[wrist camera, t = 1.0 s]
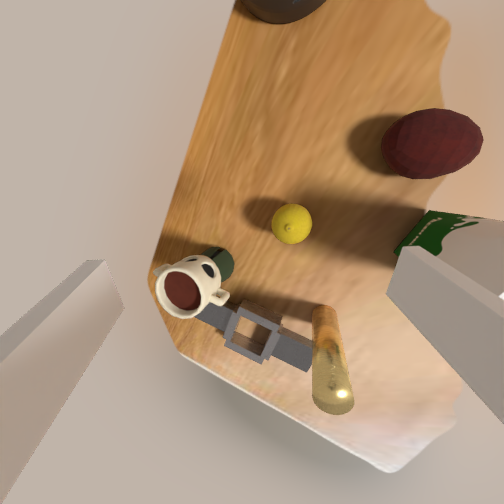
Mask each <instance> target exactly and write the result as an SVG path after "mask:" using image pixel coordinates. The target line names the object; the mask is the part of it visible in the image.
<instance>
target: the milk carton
mask: <svg viewBox="0 0 504 504" xmlns="http://www.w3.org/2000/svg"><path fill="white" fill-rule="evenodd" d="M405 246H420V247H422V248H423V249H425V250H426V251H428V252H429V253H431V254H433V255H434V256H436V257H437V258H439V259H440V260H442V261H443V262H445V263H447V264H448V265H450V266H451V267H453V268H454V269H456V270H458V271H459V272H461V273H462V274H464V275H465V276H467V277H468V278H470V279H472V280H473V281H475V282H476V283H478V284H479V285H481V286H483V287H484V288H486V289H487V290H489V291H490V292H492V293H493V294H495V295H497V296H498V297H500V298H501V299H503V300H504V221H500V220H493V219H487V218H480V217H472V216H466V215H460V214H452V213H445V212H437V211H431V210H429V211H428V212H427V213H426V214H425V216H424V217H423V218H422V219H421V220H420V222H419V223H418V224H417V225H416V226H415V227H414V229H413V230H412V231H411V232H410V233H409V234H408V236H407V237H406V238H405V239H404V240H403V242H402V243H401V244H400V245H399V246H398V247H397V249H396V250H395V251H394V253H395V254H396V255H397V256H398V257H399V256H400V253H401V250H402V247H405Z"/></svg>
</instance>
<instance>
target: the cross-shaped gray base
mask: <svg viewBox="0 0 504 504" xmlns="http://www.w3.org/2000/svg"><path fill="white" fill-rule="evenodd" d="M216 297H218V296H216ZM218 298H220V297H218ZM241 316H243V317H245V318H247V319H249V320H251V321H253V322H255V323H257V324H259V325H262V326H264V327H266V328H268V329H270V330H271V331H270V333H269V335H268V338H267V340H266V342H265V344H264V345H262V344H260V343H258V342H256V341H254V340H252V339H249V338H247V337H245V336H243V335H241V334H239V333H237V332H235V331H236V329H237V326H238V324H239V321H240V319H241ZM194 317H195V318H197V319H199V320H201V321H203V322H206V323H208V324H210V325H212V326H214V327H216V328H218V329H220V330H222V331H224V332H225V333H224V336H223V338H224V339H226V342H225V345H224V346H226V347H228V348H230V349H232V350H234V351H236V352H237V353H239V354H241V355H243V356H245V357H247V358H249V359H251V360H253V361H255V362H257V363H259V364H262V362H263V360H264V359H266V360H269V358H270V356H271V355H272V356H274V357H276V358H278V359H280V360H282V361H284V362H286V363H288V364H290V365H292V366H294V367H297V368H299V369H301V370H303V371H305V372H307V371H308V370H309V368H310V366H311V365H312V341H311V340H309V339H307V338H305V337H303V336H301V335H298V334H296V333H294V332H292V331H290V330H288V329H286V328H284V327H283V324H281V320H282V316H281V315H278V314H276V313H274V312H272V311H270V310H268V309H266V308H263V307H261V306H259V305H257V304H255V303H253V302H251V301H248V300H246V299H244V300H243V301H242V303H241V305H240V304H237V305H235V304H233V303H231V302H229V301H226V302H225V303H224V304H223V305H222V306H217V305H215V304H213V303H211V302H209V303H208V305H207V306H206V307H205V308H204V309H203V310H202V311H201V312H200V313H199V314H197V315H195V316H194Z"/></svg>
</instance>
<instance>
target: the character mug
mask: <svg viewBox="0 0 504 504" xmlns="http://www.w3.org/2000/svg"><path fill="white" fill-rule="evenodd" d="M219 248H220V247H211V248H209V249H208V250H206V251H205V252H203V253H202V254H201V255H193V256H188V257H186V258H184V259H182V260H181V261H179V262H177V263H174V264H173V265H170V264H164V265H162V266H160V267H158V268H156V269H155V270H154V271H153V273H154V275H156V276H157V277H158V278H157V280H156V282H155V293H156V296H157V299H158V302H159V303H160V304H161V306H162V307H163V309H164V310H165V311H167V312H168V313H169V314H171V315H172V316H174V317H178V318H181V319H186V318H192V317H194V316H195V315H197V314H199V313H200V312H201V311H202V310H203V309H204V308H205V307H206V306H207V305H208V303H209V302H211V303H213V304H215V305H217V306H222V305H223V304H224V303H225V302H226V301H227V300H228V298H229V297H230V293H229V292H228V291H226V290H224V289H221V288H220V287H221V282H223V281H225V280H226V279H228V278H229V277H230V275H231V274H232V272H233V269H234V261H233V258H232V256H231V255H230V253H229V252H228V251H227V250H224V251H222V252H221V251H217V250H218V249H219ZM216 294H218V295H220V296H221V297H220V298H218V297H216Z"/></svg>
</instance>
